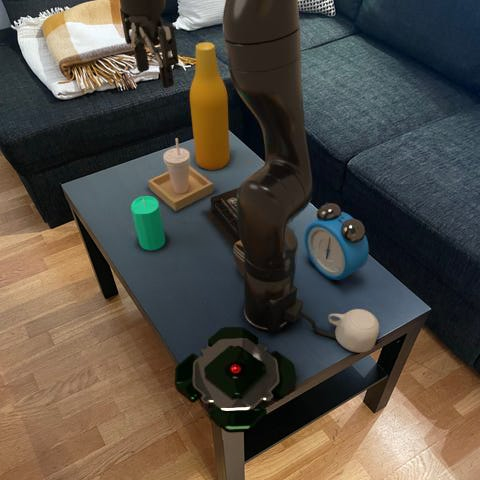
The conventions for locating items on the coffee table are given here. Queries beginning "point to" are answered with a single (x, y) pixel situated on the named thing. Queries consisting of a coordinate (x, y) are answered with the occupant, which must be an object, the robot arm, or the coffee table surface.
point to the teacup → (356, 330)
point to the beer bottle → (209, 111)
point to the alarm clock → (336, 242)
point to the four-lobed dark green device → (235, 378)
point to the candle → (148, 222)
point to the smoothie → (178, 168)
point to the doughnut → (239, 256)
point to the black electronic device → (225, 215)
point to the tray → (177, 201)
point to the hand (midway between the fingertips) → (155, 78)
